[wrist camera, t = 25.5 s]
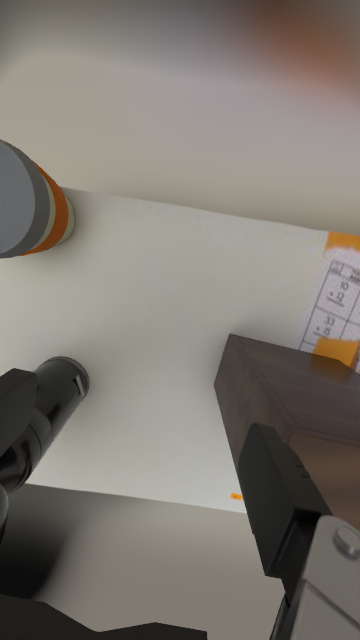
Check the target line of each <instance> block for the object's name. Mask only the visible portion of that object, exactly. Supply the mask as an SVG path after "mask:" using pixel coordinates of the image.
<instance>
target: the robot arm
mask: <svg viewBox="0 0 360 640" xmlns="http://www.w3.org/2000/svg"><path fill="white" fill-rule="evenodd" d="M88 389H89V379H88V375H87V373H86V371H85V370H84V368H83V367H82V366H81V365H80V364H79V363H77V362H76V361H74V360H72V359H69V358H65V357H55V358H51V359H49V360H47V361H45V362H44V363H43V364H41V365H40V366H39V367H38V368H37V369H36V370H35V371H33V372H29V371H25V370H21V369H16V368H13V369H11V370H10V371H8V372H7V373H5V374H4V375H2V376H1V377H0V546H1V542H2V539H3V535H4V532H5V527H6V522H7V516H8V498H7V495H9V494H10V493H12V492H14V491H15V490H17V489H18V488H19V487H21V486H22V485H23V484H24V483H25V482H26V480H27V479H28V478H29V476H30V475H31V474H32V472H33V471H34V469H35V468H36V466H37V465H38V463H39V462H40V460H41V459H42V458H43V456H44V455H45V453H46V452H47V450H48V449H49V447H50V446H51V444H52V443H53V441H54V440H55V438H56V437H57V435H58V434H59V432H60V431H61V430H62V428H63V427H64V425H65V424H66V422H67V421H68V419H69V418H70V416H71V415H72V413H73V412H74V410H75V409H76V408H77V406H78V405H79V403H80V402H81V401H82V400H83V398H84V397H85V395H86V394H87V392H88ZM238 476H239V479H240V483H241V487H242V491H243V494H244V498H245V502H246V506H247V509H248V513H249V517H250V521H251V525H252V528H253V532H254V536H255V539H256V543H257V547H258V551H259V555H260V558H261V562H262V566H263V570H264V573H265V576H269V577H274V578H280V579H281V580H282V583H283V586H284V589H285V595H284V597H283V599H282V602H281V605H280V608H279V611H278V614H277V617H276V621H275V624H274V627H273V630H272V633H271V636H270V639H269V640H360V531H359V530H358V529H356V528H355V527H354V526H352V525H351V524H349V523H348V522H346V521H344V520H342V519H340V518H338V517H335V516H334V515H333V513H332V512H331V510H330V508H329V507H328V505H327V503H326V502H325V500H324V498H323V497H322V495H321V493H320V492H319V490H318V488H317V486H316V485H315V483H314V481H313V480H312V479H311V476H310V475H309V473H308V471H307V470H306V469H305V466H304V464H303V463H302V461H301V459H300V458H299V456H298V454H297V453H296V452H295V451H294V450H293V449H291V448H290V447H289V446H288V445H287V444H286V443H283V442H282V440H281V438H280V436H279V434H278V432H277V431H276V429H275V427H274V426H270V425H266V424H261V423H257V422H253V423H251V425H250V427H249V430H248V433H247V435H246V438H245V441H244V444H243V447H242V450H241V453H240V455H239V459H238ZM0 640H207V632H206V631H201V630H195V629H190V628H184V627H179V626H173V625H168V624H162V623H156V622H154V623H149V624H143V625H138V626H131V627H126V628H120V629H115V630H109V631H103V632H96V631H93V630H91V629H89V628H87V627H85V626H84V625H82V624H80V623H79V622H77V621H75V620H73V619H72V618H70V617H68V616H67V615H65V614H63V613H62V612H60V611H58V610H57V609H55V608H53V607H51V606H50V605H48V604H46V603H44V602H39V601H33V600H28V599H22V598H17V597H11V596H6V595H0Z"/></svg>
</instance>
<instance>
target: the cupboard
mask: <svg viewBox="0 0 360 640" xmlns="http://www.w3.org/2000/svg"><path fill="white" fill-rule="evenodd" d="M214 388H215V392H216V396H217V400H218V403H219V407H220V411H221V415H222V419H223V423H224V426H225V430H226V434H227V438H228V442H229V446H230V449H231V453H232V457H233V461H234V465H235V469H236V472H237V476H238V459H239V455H240V453H241V450H242V447H243V444H244V441H245V438H246V435H247V433H248V430H249V427H250V425H251V423H253V422H257V423H261V424H266V425H270V426H274V427H275V429H276V431H277V432H278V434H279V436H280V438H281V440H282V442H283V443H286V444H287V445H288V446H289V447H290V448H291V449H293V450H294V451H295V452H296V453H297V454H298V456H299V458H300V459H301V461H302V463H303V464H304V466H305V469H306V470H307V471H308V473H309V475H310V476H311V479H312V480H313V481H314V483H315V485H316V486H317V488H318V490H319V492H320V493H321V495H322V497H323V498H324V500H325V502H326V503H327V505H328V507H329V508H330V510H331V512H332V513H333V515H334V516H335V517H338V518H340V519H342V520H344V521H346V522H348V523H349V524H351V525H352V526H354V527H355V528H356V529H358V530H359V531H360V374H359V373H357V372H356V371H354V370H353V369H351V368H349V367H348V366H346V365H345V364H343V363H342V362H340V361H339V360H336V359H332V358H328V357H324V356H320V355H316V354H311V353H307V352H303V351H299V350H295V349H291V348H287V347H283V346H279V345H275V344H271V343H266V342H262V341H258V340H254V339H250V338H246V337H242V336H238V335H234V334H229V337H228V340H227V343H226V346H225V350H224V353H223V356H222V360H221V363H220V366H219V369H218V373H217V376H216V379H215V383H214ZM238 480H239V484H240V488H241V491H242V487H241V483H240V479H239V476H238ZM242 495H243V499H244V503H245V507H246V511H247V514H248V518H249V522H250V526H251V529H252V533H253V534H254V532H253V528H252V525H251V521H250V517H249V513H248V509H247V506H246V502H245V498H244V494H243V491H242Z"/></svg>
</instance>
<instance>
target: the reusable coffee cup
mask: <svg viewBox="0 0 360 640" xmlns="http://www.w3.org/2000/svg"><path fill="white" fill-rule="evenodd" d="M74 224H75V215H74V210H73V207H72V205H71V203H70V201H69V200H68V198H67V197H66V196H65V195H64V194H63V192H62V191H61V189H60V187H59V186H58V185H57V184H56V183H55V181H54V180H53V179H52V178H51V177H50V176H49V175H47V173H46V172H45V171H43V169H42V168H40V167H39V166H38V165H37V164H36V163H35V162H33V161H32V160H31V159H30V158H29V157H28V156H27V155H25V154H24V153H23V152H22V151H21V150H19V149H18V148H16V147H14V146H12V145H11V144H9V143H7V142H5V141H3V140H1V139H0V258H12V257H15V256H24V255H29V254H33V253H37V252H41V251H44V250H47V249H49V248H51V247H53V246H55V245H58V244H60V243H62V242H64V241H65V240H66V239H67V238H68V237H69V236H70V234H71V233H72V230H73V228H74Z"/></svg>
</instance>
